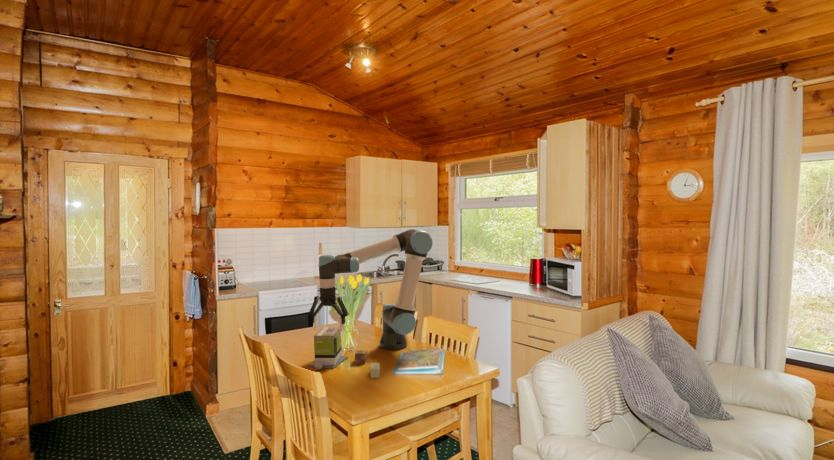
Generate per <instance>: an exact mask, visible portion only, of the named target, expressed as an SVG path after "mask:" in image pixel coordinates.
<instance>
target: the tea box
mask: <svg viewBox="0 0 834 460" xmlns="http://www.w3.org/2000/svg"><path fill="white" fill-rule="evenodd" d="M313 345H314V346H313V347H314V348H313V349H314V361H315V362H316V361H321V362H322V363H323V365H335V364H336V363H337V361H338V360H339V358H340V357H341V356H343V349H342V331H340V326H339V327H337V326H336V327H335V326H334V327H333V326H332V327H331V326H330V327H323V326H322V327H321V328H320V329H319V330H318V331H317V332H316V333H315V335H313Z"/></svg>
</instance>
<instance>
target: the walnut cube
mask: <svg viewBox="0 0 834 460" xmlns="http://www.w3.org/2000/svg"><path fill="white" fill-rule="evenodd" d="M367 359H368V358H367V350H366V349H365V350H364V349H362V350H358V349H357V350H355V352H354V364H355V365H356V364H358V365H359V364H361V365H362V364H366V363H367Z"/></svg>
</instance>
